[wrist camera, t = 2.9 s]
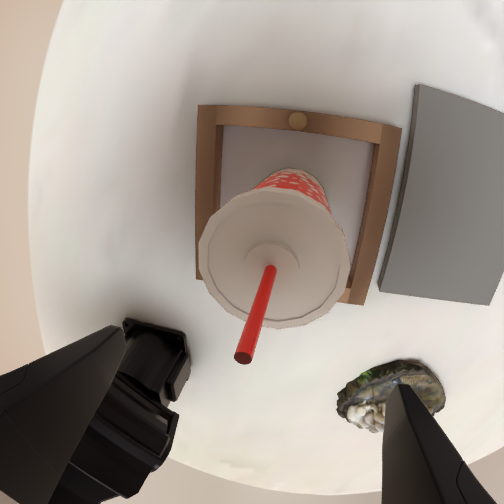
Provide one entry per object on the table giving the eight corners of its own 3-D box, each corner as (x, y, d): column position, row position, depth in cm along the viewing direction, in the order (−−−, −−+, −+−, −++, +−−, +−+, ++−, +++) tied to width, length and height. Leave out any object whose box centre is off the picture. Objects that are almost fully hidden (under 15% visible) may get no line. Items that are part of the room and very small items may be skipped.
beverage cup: (239, 160, 20) (108, 254, 7) (335, 153, 18) (372, 245, 6) (251, 247, 22) (171, 411, 10) (339, 244, 21) (352, 425, 8)
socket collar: (202, 269, 24) (193, 283, 22) (206, 105, 18) (194, 104, 17) (361, 293, 22) (364, 310, 20) (395, 126, 17) (404, 128, 15)
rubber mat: (377, 284, 21) (379, 291, 20) (415, 85, 15) (420, 84, 14) (484, 298, 20) (488, 305, 19) (531, 128, 14) (538, 130, 13)
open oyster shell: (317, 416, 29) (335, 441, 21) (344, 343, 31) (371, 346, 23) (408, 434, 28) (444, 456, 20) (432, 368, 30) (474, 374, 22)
